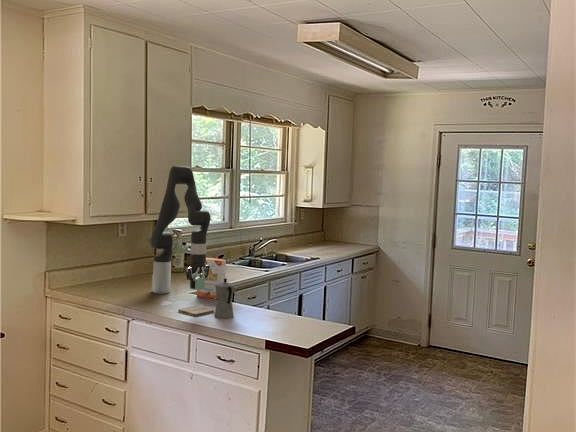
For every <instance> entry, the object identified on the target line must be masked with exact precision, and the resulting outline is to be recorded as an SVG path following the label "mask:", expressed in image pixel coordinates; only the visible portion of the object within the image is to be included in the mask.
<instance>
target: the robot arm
mask: <svg viewBox="0 0 576 432" xmlns="http://www.w3.org/2000/svg"><path fill="white" fill-rule="evenodd" d="M167 178H168V179H167V184H166V189H165V193H164V196H163V199H162V204H161V206H160V211H159V213H158V217H157V222H156V224H155V227H154V230H153V232H152V234H151V238H150V246H151V248H152V249H156V250H162V251H161V252H159V253H158V254H155V255H154V256H153V272H152V274H151V275H152V276H151V292H152V293H153V294H156V295H157V294H159V295H160V294H161V295H164V294H170V292H171V277H172V276H171V274H172V273H171V272H172V271H171V270H172V256H173V243H174V239H173V236H174V235H173V234H172V232H171V231H165V229H166V228H167V227H168V226H170V225H171V224H172V223H173V222H174V221H175V220H176V219H177V217H178V215H179V214H178V213H179V210H180V208H181V203H180V200H179V197H178V195H177V193H176V185H186V186H187V190H186V191H185V193H184V197H183V199H184V203H185V205H186V208H187V222H188V223H189V225H191V226H194V227H195V226H200V227H199V229H196V230H193V231H192V232H191V234H190V238H191V240H190V248H189V250H190V254H189V262H190V266H189V267H185V275H186V276H185V277H186V280H189V288H190V287H191V289H190V290H194V289H195V278H196V277H198V275H199V277H201V278H207V277H208V273H209V268H210V266H209V265H205V262H206V258H207V233H208V229H209V226H210V223H211V217H212V216H211V213H210V212H209V211H207V210H202V209H203V205H202V201H201V199H200V197H199V194H198V191H197V187H196V180H195V176H194V173H193V170H192V168H191V167H190V166H184V165H183V166H182V165H173V166H171V168H170V170H169V174H168V177H167ZM205 274H206V275H205Z"/></svg>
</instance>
